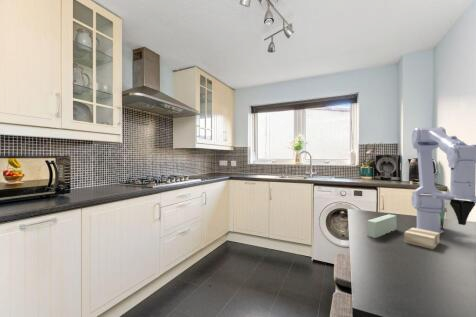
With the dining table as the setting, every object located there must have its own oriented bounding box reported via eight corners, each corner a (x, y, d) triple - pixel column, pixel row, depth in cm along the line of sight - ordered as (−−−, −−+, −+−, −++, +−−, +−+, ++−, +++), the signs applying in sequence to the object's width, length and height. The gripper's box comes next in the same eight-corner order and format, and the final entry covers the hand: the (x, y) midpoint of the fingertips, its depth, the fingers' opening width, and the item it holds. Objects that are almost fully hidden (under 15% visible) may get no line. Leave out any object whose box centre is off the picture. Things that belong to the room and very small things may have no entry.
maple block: (412, 237, 87) (412, 227, 87) (439, 243, 81) (439, 232, 81) (404, 243, 81) (404, 232, 81) (433, 250, 74) (433, 238, 74)
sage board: (388, 227, 98) (388, 214, 98) (396, 229, 96) (396, 215, 96) (366, 235, 87) (367, 220, 87) (375, 238, 84) (375, 222, 84)
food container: (454, 232, 94) (454, 208, 94) (437, 230, 95) (438, 207, 95) (434, 224, 106) (435, 203, 106) (419, 223, 107) (420, 202, 107)
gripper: (429, 180, 75) (429, 220, 75) (494, 185, 64) (494, 232, 63) (436, 179, 79) (435, 217, 79) (498, 184, 68) (497, 228, 67)
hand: (462, 224), depth 72 cm, fingers closed
